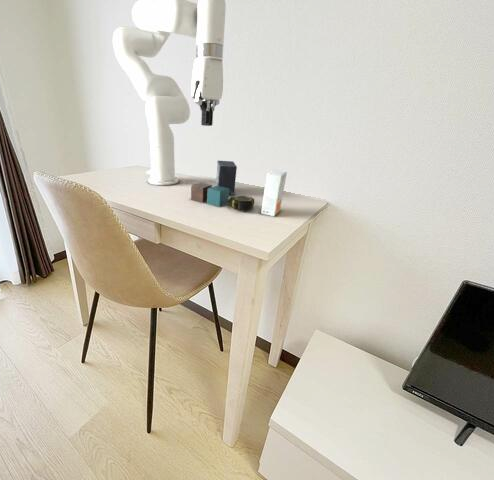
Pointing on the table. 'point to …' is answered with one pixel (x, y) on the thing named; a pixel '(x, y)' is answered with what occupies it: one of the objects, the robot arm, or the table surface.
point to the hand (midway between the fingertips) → (206, 125)
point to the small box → (226, 175)
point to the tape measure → (241, 203)
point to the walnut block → (199, 192)
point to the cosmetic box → (273, 192)
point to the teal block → (217, 196)
